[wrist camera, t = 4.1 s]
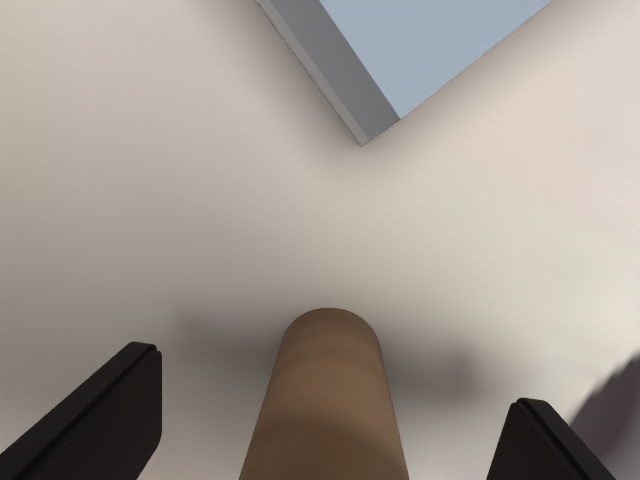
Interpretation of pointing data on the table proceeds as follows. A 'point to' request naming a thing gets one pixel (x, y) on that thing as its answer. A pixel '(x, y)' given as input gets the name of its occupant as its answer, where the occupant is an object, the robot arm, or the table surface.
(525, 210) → the table surface
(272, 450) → the walnut peg
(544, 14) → the table surface
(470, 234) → the table surface
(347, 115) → the slate box
